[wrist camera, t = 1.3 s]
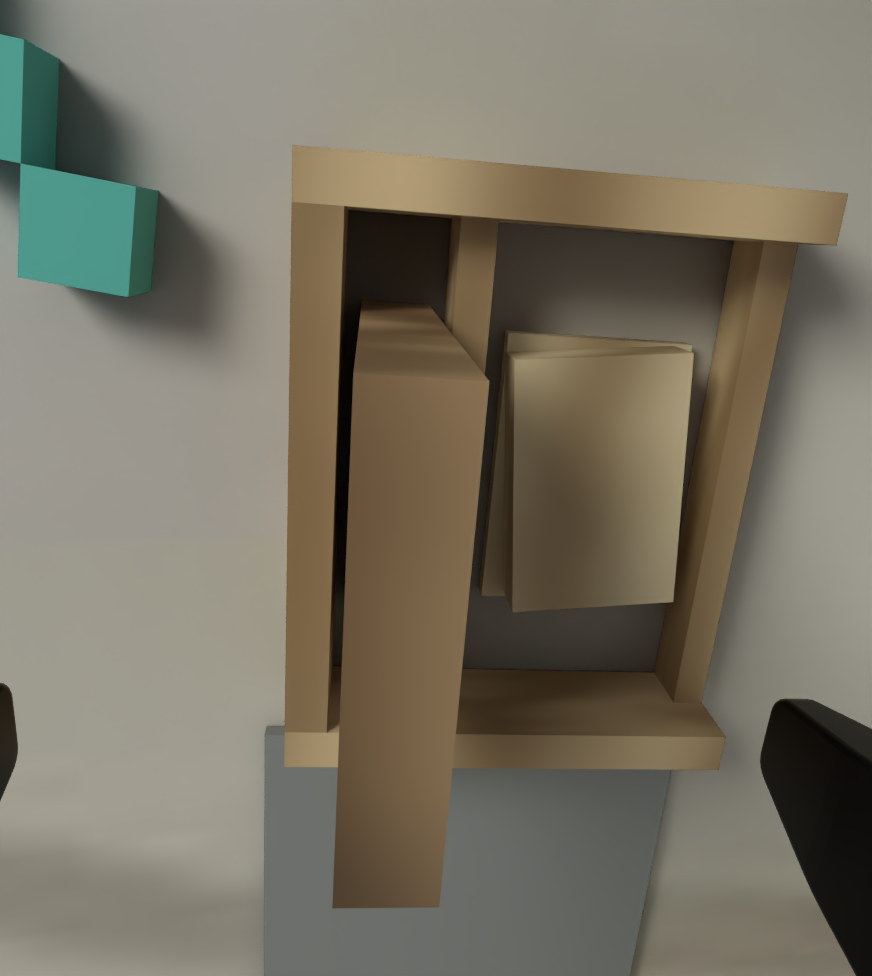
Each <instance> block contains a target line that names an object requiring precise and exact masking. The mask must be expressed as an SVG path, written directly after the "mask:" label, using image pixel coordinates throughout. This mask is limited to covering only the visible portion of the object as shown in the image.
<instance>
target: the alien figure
mask: <svg viewBox="0 0 872 976" xmlns="http://www.w3.org/2000/svg"><path fill="white" fill-rule="evenodd" d="M58 85H59V59H58V58H56V57H54V56H53V55H51V54H49V53H47V52H45V51H44V50H42V49H40V48H38V47H36V46H35V45H33V44H31V43H29V42H28V41H26V40H24V39H20V38H15V37H11V36H6V35H2V34H0V159H1V160H6V161H11V162H16V163H21V167H20V206H19V244H18V277H20V278H26V279H31V280H37V281H42V282H48V283H53V284H59V285H64V286H70V287H75V288H81V289H86V290H92V291H97V292H103V293H108V294H114V295H119V296H125V297H131V296H134V295H138V294H142V293H146V292H149V291H151V284H152V271H153V258H154V245H155V232H156V219H157V206H158V193H159V191H156V190H151V189H146V188H141V187H136V186H131V185H126V184H121V183H116V182H111V181H106V180H101V179H96V178H91V177H86V176H82V175H77V174H72V173H67V172H62V171H57V170H55V164H56V138H57V112H58Z"/></svg>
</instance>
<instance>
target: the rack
mask: <svg viewBox="0 0 872 976" xmlns="http://www.w3.org/2000/svg"><path fill="white" fill-rule="evenodd" d="M847 197H848V193H836V192H825V191H813V190H802V189H790V188H779V187H767V186H756V185H744V184H733V183H721V182H710V181H698V180H687V179H676V178H664V177H653V176H641V175H630V174H618V173H607V172H595V171H584V170H572V169H561V168H549V167H538V166H526V165H515V164H503V163H492V162H481V161H469V160H458V159H446V158H435V157H423V156H412V155H400V154H389V153H377V152H366V151H354V150H343V149H331V148H320V147H308V146H297V145H292V221H291V297H290V373H289V448H288V524H287V600H286V676H285V751H284V767H338V750H339V725H340V699H341V674H342V666H332V664H333V636H334V607H335V578H336V550H337V521H338V493H339V464H340V435H341V407H342V378H343V350H344V321H345V292H346V264H347V235H348V210H354V211H366V212H379V213H391V214H404V215H417V216H429V217H442V218H452V222H451V236H450V249H449V262H448V276H447V289H446V302H445V316H444V325H445V326H446V327H447V328H448V330H449V331H450V332H451V333H452V335H453V336H454V337H455V338H456V340H457V341H458V342H459V343H460V345H461V346H462V347H463V349H464V350H465V351H466V352H467V354H468V355H469V356H470V357H471V359H472V360H473V361H474V362H475V364H476V365H477V366H478V367H479V369H480V370H481V371H482V372H483V374H484V375H485V367H486V357H487V346H488V335H489V324H490V314H491V303H492V292H493V282H494V271H495V260H496V249H497V239H498V228H499V222H505V223H517V224H530V225H543V226H555V227H568V228H580V229H593V230H606V231H618V232H631V233H643V234H656V235H669V236H681V237H694V238H706V239H719V240H732V241H734V244H733V250H732V255H731V261H730V266H729V271H728V277H727V282H726V288H725V293H724V298H723V304H722V309H721V315H720V320H719V325H718V331H717V336H716V342H715V347H714V352H713V358H712V363H711V369H710V374H709V379H708V385H707V390H706V396H705V401H704V406H703V412H702V417H701V423H700V428H699V433H698V439H697V444H696V450H695V455H694V460H693V466H692V471H691V477H690V482H689V487H688V493H687V498H686V504H685V509H684V514H683V520H682V525H681V531H680V536H679V541H678V550H677V562H676V574H675V586H674V598H673V602H667V606H666V612H665V617H664V622H663V628H662V633H661V639H660V644H659V649H658V655H657V660H656V666H655V671H654V673H648V672H598V671H548V670H498V669H462V675H461V685H460V696H459V706H458V716H457V727H456V737H455V748H454V758H453V768H513V769H659V770H718V769H719V765H720V760H721V756H722V752H723V747H724V743H725V738H726V737H725V736H724V734H723V733H722V731H721V730H720V728H719V727H718V726H717V724H716V723H715V721H714V720H713V718H712V717H711V716H710V714H709V713H708V711H707V710H706V709H705V707H704V706H703V704H702V699H703V694H704V690H705V685H706V680H707V675H708V671H709V666H710V661H711V656H712V651H713V647H714V642H715V637H716V632H717V628H718V623H719V618H720V613H721V609H722V604H723V599H724V594H725V590H726V585H727V580H728V575H729V571H730V566H731V561H732V556H733V552H734V547H735V542H736V537H737V533H738V528H739V523H740V518H741V514H742V509H743V504H744V499H745V495H746V490H747V485H748V480H749V476H750V471H751V466H752V461H753V457H754V452H755V447H756V442H757V437H758V433H759V428H760V423H761V418H762V414H763V409H764V404H765V399H766V395H767V390H768V385H769V380H770V376H771V371H772V366H773V361H774V357H775V352H776V347H777V342H778V338H779V333H780V328H781V323H782V319H783V314H784V309H785V304H786V300H787V295H788V290H789V285H790V281H791V276H792V271H793V266H794V262H795V257H796V252H797V247H798V244H810V245H837V241H838V237H839V232H840V228H841V223H842V219H843V215H844V210H845V206H846V201H847Z"/></svg>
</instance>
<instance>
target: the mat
mask: <svg viewBox="0 0 872 976" xmlns="http://www.w3.org/2000/svg"><path fill="white" fill-rule="evenodd" d="M284 751H285V727H278V726H267V727H266V732H265V812H264V976H630V972H631V967H632V962H633V957H634V952H635V947H636V942H637V937H638V932H639V927H640V922H641V917H642V912H643V907H644V902H645V897H646V892H647V888H648V883H649V878H650V873H651V868H652V863H653V858H654V853H655V848H656V843H657V838H658V833H659V828H660V823H661V818H662V813H663V808H664V803H665V799H666V794H667V789H668V784H669V779H670V774H671V770H659V769H513V768H453V769H452V779H451V790H450V800H449V811H448V821H447V832H446V842H445V853H444V863H443V874H442V884H441V895H440V905H439V907H429V908H341V909H332V903H333V877H334V852H335V827H336V801H337V776H338V767H284Z"/></svg>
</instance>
